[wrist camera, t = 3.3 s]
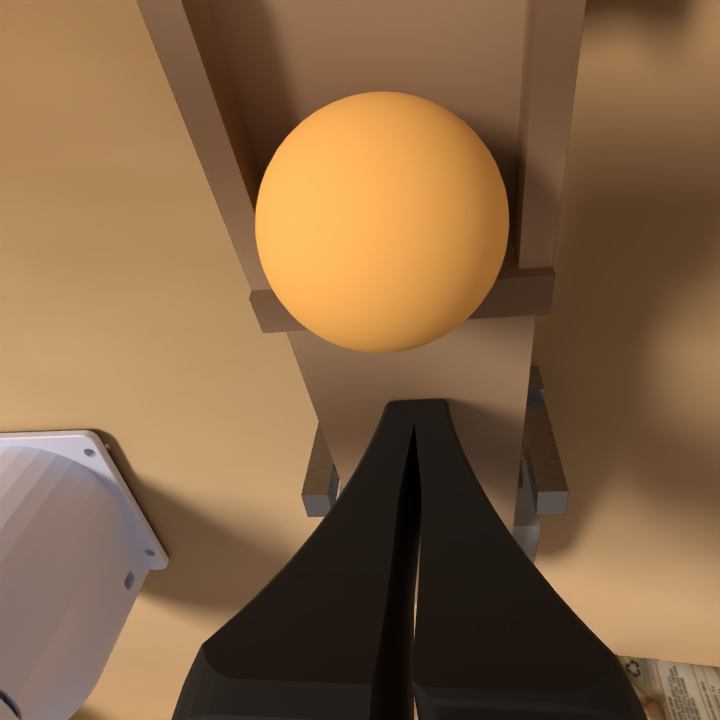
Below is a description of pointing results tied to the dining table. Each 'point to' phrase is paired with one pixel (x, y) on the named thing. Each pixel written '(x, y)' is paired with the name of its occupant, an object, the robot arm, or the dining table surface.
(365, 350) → the ball
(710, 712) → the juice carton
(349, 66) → the lever
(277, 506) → the dining table surface
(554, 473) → the fulcrum
